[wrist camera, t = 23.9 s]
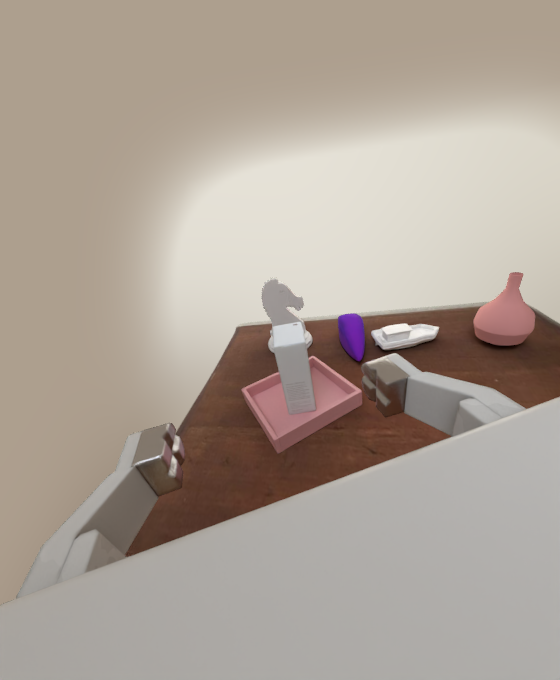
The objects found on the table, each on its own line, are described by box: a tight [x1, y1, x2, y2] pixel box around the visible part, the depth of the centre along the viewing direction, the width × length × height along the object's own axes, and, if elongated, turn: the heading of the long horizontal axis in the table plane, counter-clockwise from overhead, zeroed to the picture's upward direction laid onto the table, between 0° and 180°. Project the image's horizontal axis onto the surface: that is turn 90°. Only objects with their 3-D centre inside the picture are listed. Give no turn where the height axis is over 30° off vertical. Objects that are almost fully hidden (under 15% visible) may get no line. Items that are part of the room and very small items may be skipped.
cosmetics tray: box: [241, 356, 362, 454], centre depth 39 cm, size 14×12×3 cm
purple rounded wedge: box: [338, 314, 365, 361], centre depth 49 cm, size 5×5×15 cm
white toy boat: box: [371, 324, 439, 350], centre depth 47 cm, size 6×12×3 cm, turn 93°
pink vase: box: [473, 272, 535, 346], centre depth 41 cm, size 8×8×12 cm
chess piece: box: [262, 278, 312, 353], centre depth 52 cm, size 10×10×15 cm
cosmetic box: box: [273, 322, 316, 415], centre depth 36 cm, size 6×4×12 cm
